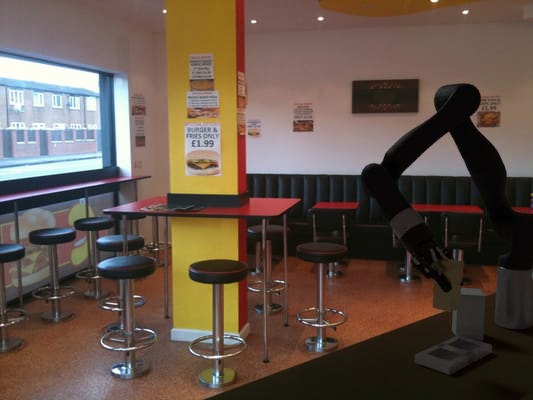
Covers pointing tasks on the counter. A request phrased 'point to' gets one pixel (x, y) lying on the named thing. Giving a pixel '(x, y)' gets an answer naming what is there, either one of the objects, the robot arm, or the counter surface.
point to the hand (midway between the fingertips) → (454, 288)
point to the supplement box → (470, 315)
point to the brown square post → (454, 277)
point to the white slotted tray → (453, 354)
